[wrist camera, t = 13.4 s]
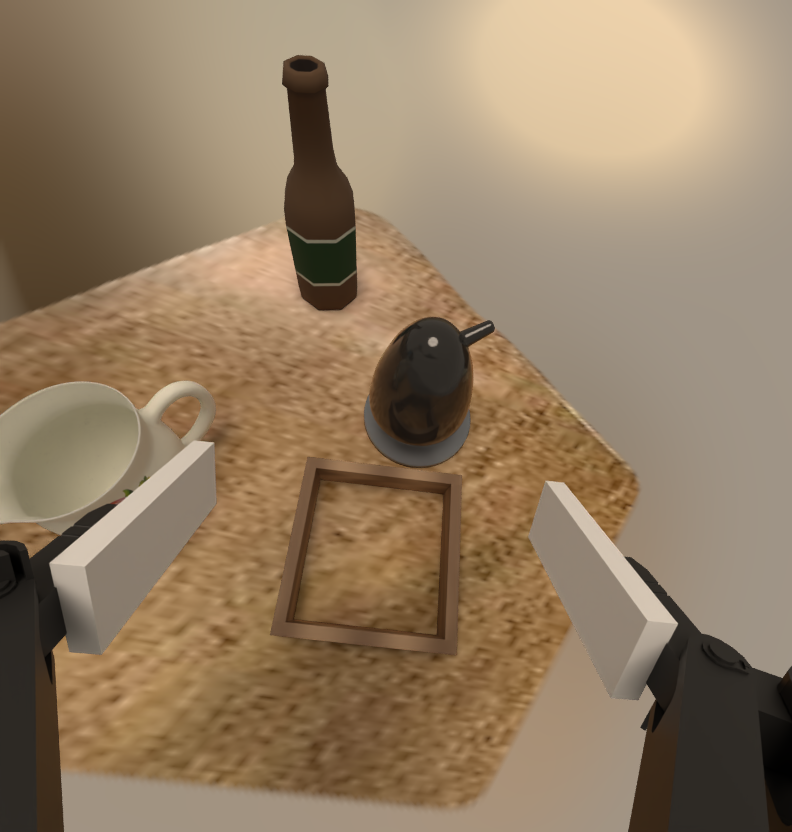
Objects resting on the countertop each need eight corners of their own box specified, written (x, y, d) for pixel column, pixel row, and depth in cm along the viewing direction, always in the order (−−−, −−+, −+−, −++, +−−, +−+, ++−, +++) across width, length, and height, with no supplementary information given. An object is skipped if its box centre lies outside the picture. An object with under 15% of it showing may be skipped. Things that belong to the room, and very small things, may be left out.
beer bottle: (344, 261, 53) (330, 32, 32) (368, 301, 51) (371, 81, 29) (290, 278, 51) (236, 46, 30) (313, 320, 49) (272, 100, 27)
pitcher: (268, 455, 41) (226, 394, 28) (113, 600, 34) (-30, 602, 22) (200, 394, 43) (134, 313, 31) (44, 517, 37) (-120, 478, 24)
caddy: (280, 630, 34) (269, 635, 31) (312, 469, 41) (307, 456, 37) (447, 649, 34) (456, 655, 31) (453, 485, 41) (461, 475, 37)
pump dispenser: (475, 441, 42) (528, 367, 29) (386, 470, 40) (397, 405, 27) (440, 366, 46) (472, 269, 32) (357, 388, 44) (354, 295, 30)
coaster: (357, 460, 41) (357, 458, 41) (371, 366, 46) (371, 362, 46) (467, 473, 42) (469, 471, 41) (469, 378, 47) (471, 375, 46)
